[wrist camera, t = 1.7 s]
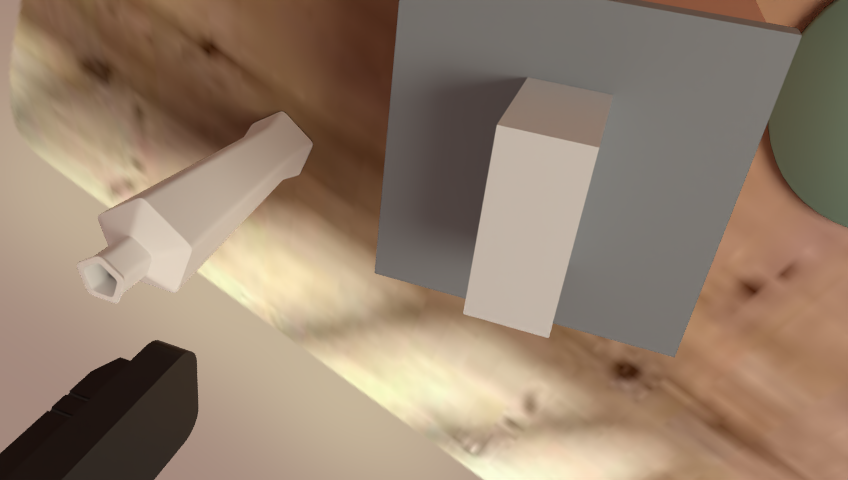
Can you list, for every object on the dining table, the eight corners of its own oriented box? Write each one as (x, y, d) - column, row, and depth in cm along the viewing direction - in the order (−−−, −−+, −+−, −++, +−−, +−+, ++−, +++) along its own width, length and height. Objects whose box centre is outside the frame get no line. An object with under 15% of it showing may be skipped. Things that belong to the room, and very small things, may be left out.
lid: (793, 21, 23) (831, 81, 17) (674, 328, 30) (673, 446, 24) (420, -45, 26) (344, -12, 20) (390, 251, 32) (327, 339, 27)
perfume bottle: (258, 89, 39) (58, 205, 26) (325, 131, 39) (156, 267, 26) (234, 152, 41) (42, 286, 29) (297, 192, 41) (131, 343, 29)
